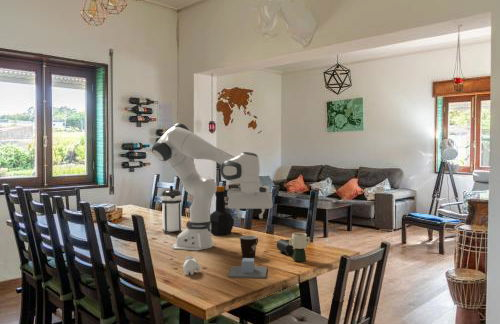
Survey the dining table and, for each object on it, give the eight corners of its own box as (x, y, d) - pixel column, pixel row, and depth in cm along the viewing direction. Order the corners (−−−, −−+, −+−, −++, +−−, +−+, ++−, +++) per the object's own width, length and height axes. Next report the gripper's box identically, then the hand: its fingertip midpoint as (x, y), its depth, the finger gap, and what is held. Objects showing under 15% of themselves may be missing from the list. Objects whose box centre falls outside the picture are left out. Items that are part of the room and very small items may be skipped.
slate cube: (241, 272, 183) (241, 261, 182) (243, 269, 188) (242, 258, 187) (253, 272, 182) (253, 261, 182) (254, 269, 187) (254, 258, 187)
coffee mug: (244, 260, 204) (244, 240, 204) (237, 256, 212) (236, 236, 212) (265, 257, 210) (265, 237, 209) (257, 253, 217) (257, 234, 217)
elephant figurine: (203, 275, 183) (203, 258, 182) (181, 276, 181) (180, 260, 180) (201, 269, 190) (201, 254, 190) (180, 271, 188) (179, 255, 188)
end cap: (276, 252, 219) (276, 239, 219) (288, 250, 222) (287, 238, 222) (286, 256, 210) (286, 243, 210) (298, 255, 213) (298, 241, 213)
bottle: (217, 237, 254) (217, 188, 252) (203, 233, 266) (202, 186, 265) (238, 233, 263) (238, 186, 262) (223, 229, 276) (223, 184, 275)
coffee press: (189, 230, 274) (189, 185, 273) (172, 235, 261) (172, 187, 259) (170, 228, 283) (169, 183, 282) (152, 232, 270) (151, 186, 268)
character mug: (306, 257, 208) (306, 231, 207) (313, 261, 201) (312, 234, 200) (286, 259, 205) (286, 233, 204) (291, 263, 198) (291, 236, 197)
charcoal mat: (228, 277, 179) (228, 275, 179) (232, 267, 193) (232, 265, 193) (265, 278, 177) (265, 276, 177) (267, 268, 191) (267, 266, 191)
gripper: (226, 188, 187) (226, 219, 188) (272, 188, 186) (272, 219, 186) (228, 187, 193) (228, 217, 194) (272, 187, 192) (272, 217, 193)
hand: (250, 218), depth 190 cm, fingers open, 8 cm apart
